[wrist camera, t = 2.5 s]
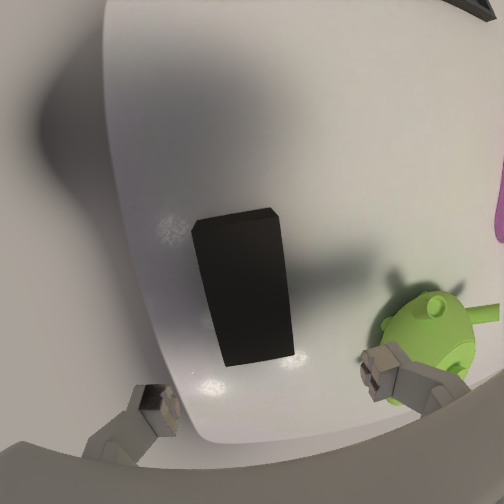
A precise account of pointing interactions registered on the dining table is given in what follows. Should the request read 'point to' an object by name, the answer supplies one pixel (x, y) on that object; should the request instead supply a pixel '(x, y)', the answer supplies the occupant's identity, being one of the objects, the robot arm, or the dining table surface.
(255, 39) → the dining table surface
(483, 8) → the base tray
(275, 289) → the black rectangular block
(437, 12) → the dining table surface
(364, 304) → the dining table surface
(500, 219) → the bracket
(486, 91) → the dining table surface
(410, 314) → the teapot
